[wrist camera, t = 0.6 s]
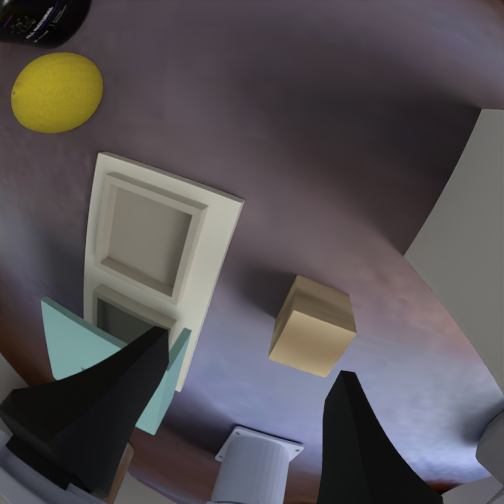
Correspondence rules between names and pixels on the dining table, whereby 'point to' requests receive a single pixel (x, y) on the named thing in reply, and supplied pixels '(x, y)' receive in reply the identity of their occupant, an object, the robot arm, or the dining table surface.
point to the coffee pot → (493, 451)
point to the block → (312, 327)
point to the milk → (470, 243)
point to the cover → (104, 355)
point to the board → (153, 251)
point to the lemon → (57, 92)
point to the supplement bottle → (41, 21)
